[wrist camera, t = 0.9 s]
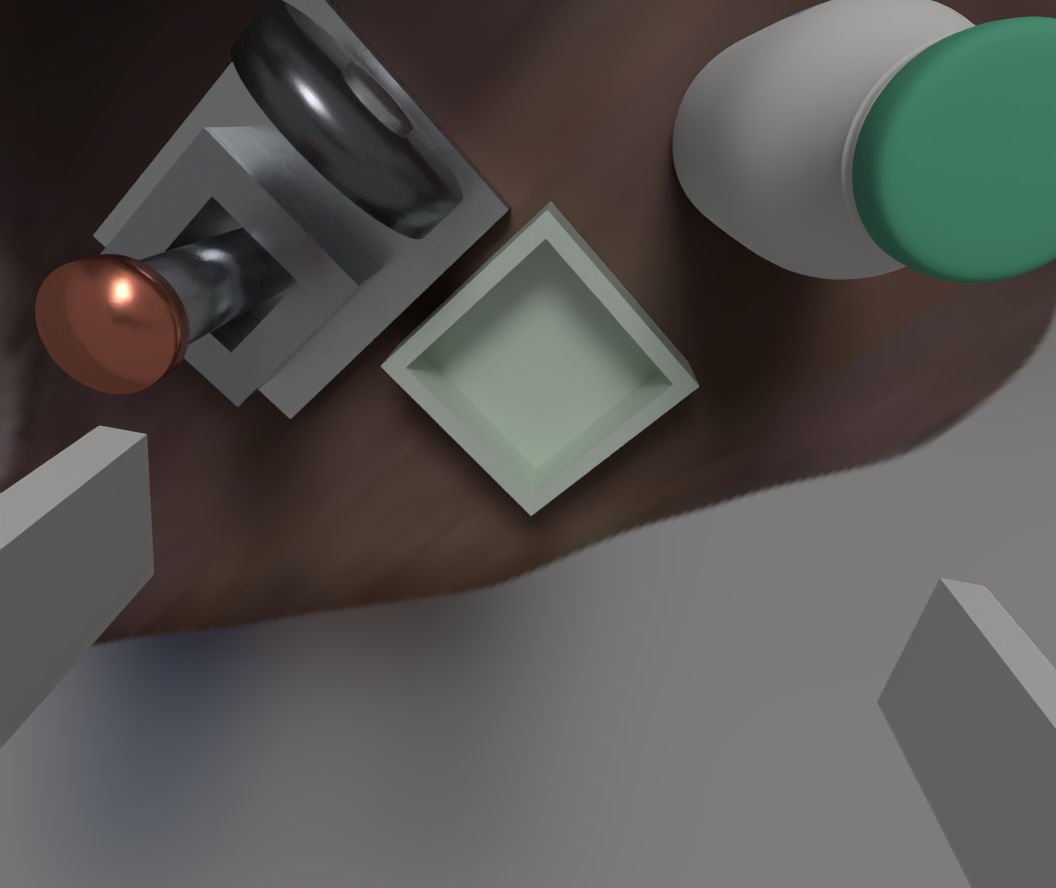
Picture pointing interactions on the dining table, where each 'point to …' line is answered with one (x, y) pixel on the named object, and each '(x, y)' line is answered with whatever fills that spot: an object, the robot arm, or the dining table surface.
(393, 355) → the tray
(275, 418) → the dining table surface
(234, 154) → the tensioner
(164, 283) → the pin
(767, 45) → the milk bottle
